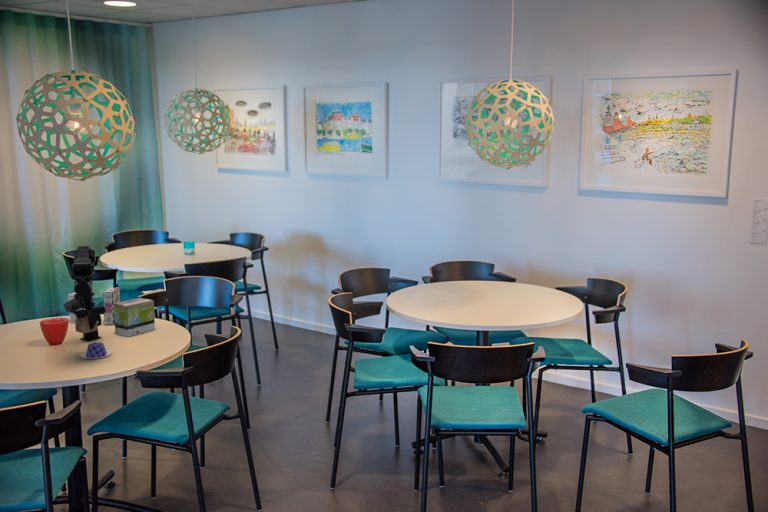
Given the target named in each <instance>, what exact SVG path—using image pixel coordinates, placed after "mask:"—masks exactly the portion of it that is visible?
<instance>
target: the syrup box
mask: <svg viewBox="0 0 768 512" xmlns="http://www.w3.org/2000/svg"><path fill="white" fill-rule="evenodd" d="M75 294H76V292H75V291H74V292H73V293H69V294H67V299H68V300H67V302H68V301H70V300H72V299H74V295H75ZM75 319H77V318H76V316H75V314H73V313H70V312H69V322H70V323H71V324H75Z"/></svg>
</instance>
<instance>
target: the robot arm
mask: <svg viewBox="0 0 768 512" xmlns="http://www.w3.org/2000/svg"><path fill="white" fill-rule="evenodd" d="M73 256H74V257H73V258H74V260H73V263H72V264H71V273H72V274H71V277H72V278H71V279H72V280H75V287H74V293H75V292H76V294H75V295H74V299H72V300H70V301H68V300H67V302H65V303H64V304H63V305H62V306H63V308H64V310H65V312H66V313H69V314H70V313H73V314H75V316H76V318H77V319H78V318H82V317H86V316H87V317H88V320H89V326H90V329H93V328H94V326H95V323H96V321H97V325H98V327H100V326H102V315H101V314H104V313H106V308H105V307H104V305H100V304H97V305H96V303H95V302H94V296H95V292H93V282H92V281H93V280H92V279H93V278H94V277H95V273H96V270H95V262H96V260H97V259H96V251H95V250H94V249H92V248H91V246H88V245H84V246H83V245H80V246H79V245H78V246H77V247H76V250H75V251H74V252H73ZM101 338H102V336H100V335H99V329H98V330H96V331H92V332H89V333H82V337H81V338H80V339H79V340H81V341H84V342H85V341H86V342H91V341H96V340H100V339H101Z"/></svg>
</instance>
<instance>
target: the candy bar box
mask: <svg viewBox="0 0 768 512" xmlns="http://www.w3.org/2000/svg"><path fill="white" fill-rule="evenodd" d="M120 296H121V293H120V287H109V288H107V289H106V290H104V291H103V292H102V301H103V303H102V304H103V305H102V306H104V307H105V308H106V313H103V319H104V321H103V322H104V323H103V324H104V326H115V317H114V303H118V302H121V297H120Z"/></svg>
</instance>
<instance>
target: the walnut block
mask: <svg viewBox="0 0 768 512" xmlns="http://www.w3.org/2000/svg"><path fill="white" fill-rule="evenodd" d="M74 326H75V327H74V328H75V332H76V333H77V332H78V333H81V334H83V333H89V332H92V331H96V330H98V331H99V329H98V327H99V326H98V325H97V321H96V323H95V326H94V328H93V329H90V326H89V320H88V317H87V316H86V317H82V318H78V319H75V323H74Z"/></svg>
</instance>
